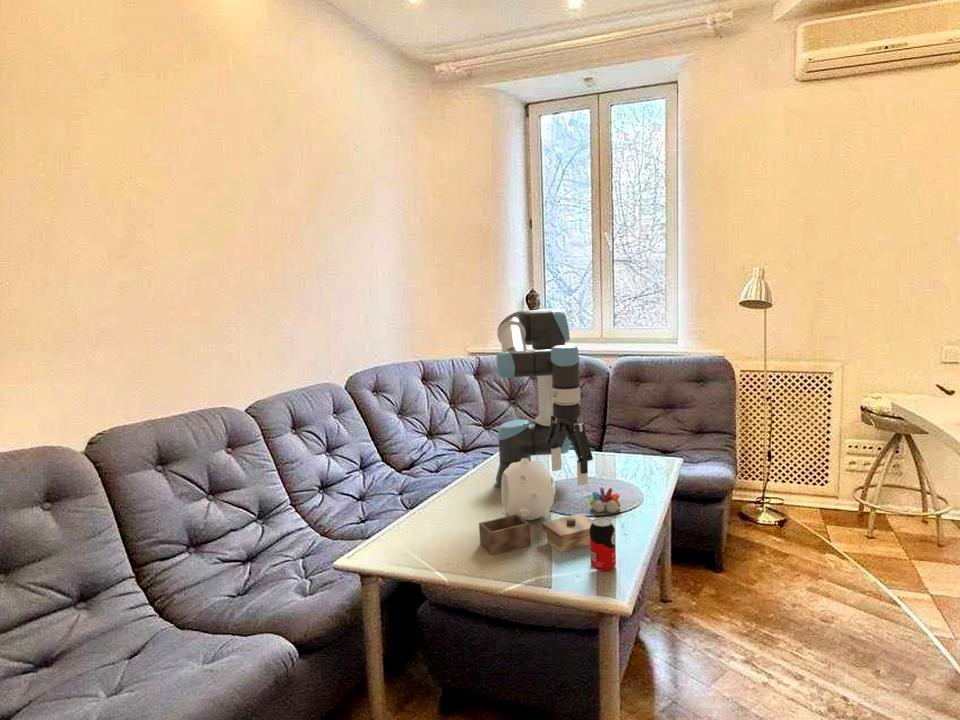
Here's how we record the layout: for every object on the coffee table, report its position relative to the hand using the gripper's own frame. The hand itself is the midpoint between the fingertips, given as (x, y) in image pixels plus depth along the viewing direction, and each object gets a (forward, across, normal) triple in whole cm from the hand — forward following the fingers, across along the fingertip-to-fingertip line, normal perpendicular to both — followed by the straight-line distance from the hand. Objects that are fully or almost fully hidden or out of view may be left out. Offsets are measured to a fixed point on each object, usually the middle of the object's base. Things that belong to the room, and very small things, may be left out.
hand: (569, 477), depth 164 cm
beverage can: (+19, +16, 0) cm, 25 cm away
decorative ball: (+20, -21, -2) cm, 29 cm away
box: (+20, -7, -17) cm, 27 cm away
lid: (+16, +1, 0) cm, 16 cm away
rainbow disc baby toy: (+20, -16, +23) cm, 35 cm away
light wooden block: (+20, +1, 0) cm, 20 cm away
